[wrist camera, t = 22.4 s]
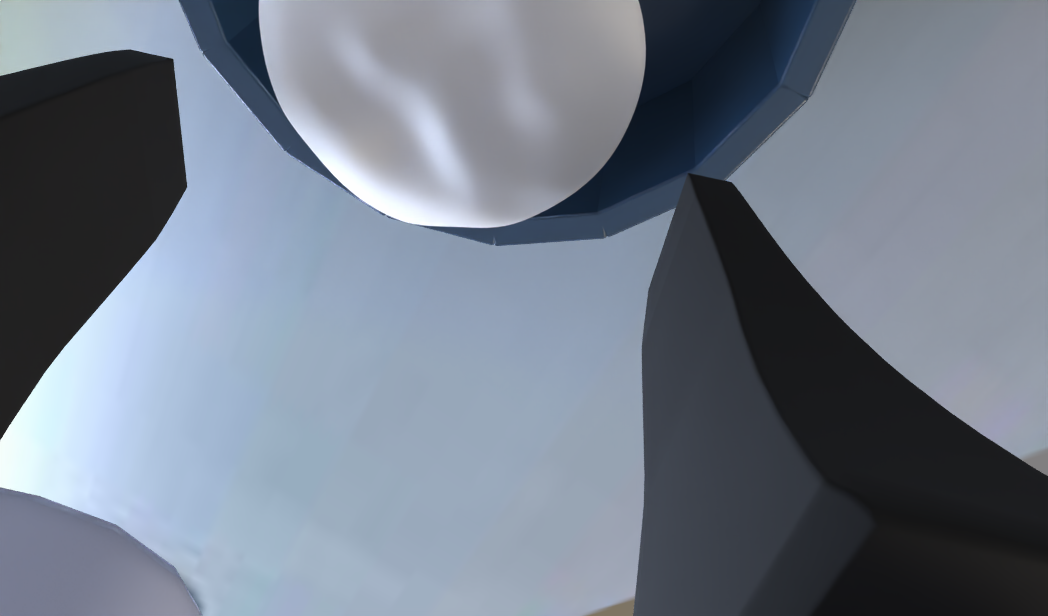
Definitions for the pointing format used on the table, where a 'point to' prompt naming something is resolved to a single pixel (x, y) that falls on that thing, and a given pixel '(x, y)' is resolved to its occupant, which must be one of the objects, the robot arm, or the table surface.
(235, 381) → the table surface
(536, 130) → the milkshake
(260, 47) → the tin
